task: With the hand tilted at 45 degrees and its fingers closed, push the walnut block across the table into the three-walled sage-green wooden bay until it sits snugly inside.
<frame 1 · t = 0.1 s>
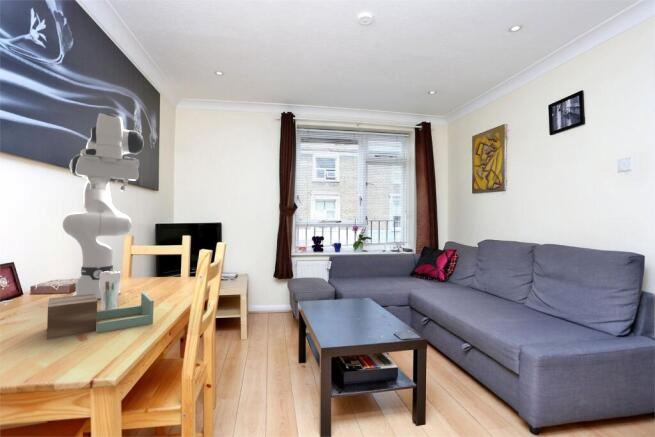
hand: (107, 189, 121), 48 cm above the table, tool pointing down, fingers open, 8 cm apart
green bay: (109, 323, 108), on the table
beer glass: (109, 310, 124), on the table
walnut block: (71, 330, 101), on the table
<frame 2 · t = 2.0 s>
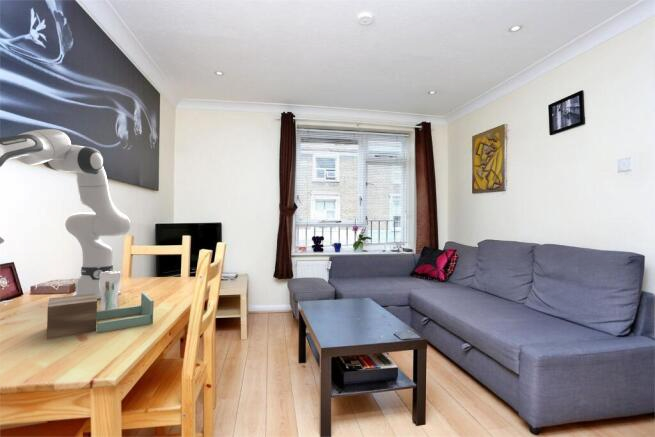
hand: (0, 243, 91), 29 cm above the table, tool tilted 40°, fingers open, 8 cm apart
nothing on the table moved.
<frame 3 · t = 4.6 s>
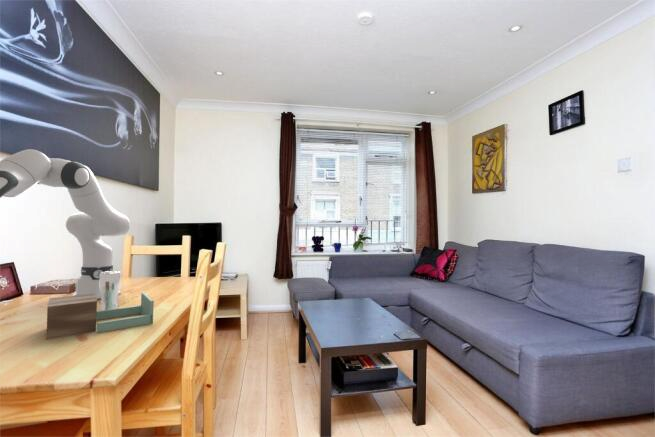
nothing on the table moved.
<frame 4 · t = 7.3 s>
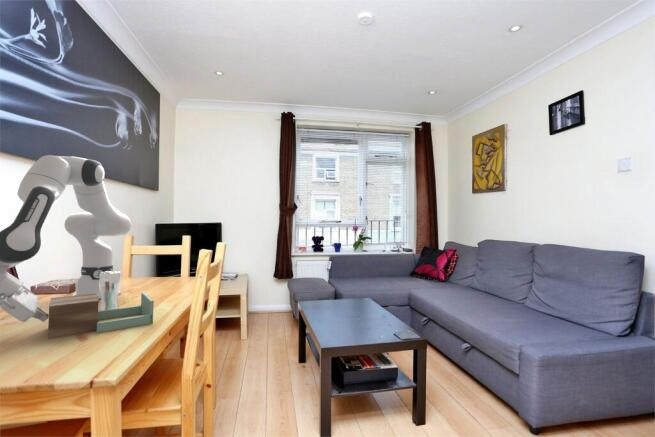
hand: (46, 318, 97), 5 cm above the table, tool tilted 45°, fingers closed
walnut block: (73, 329, 102), on the table, touching gripper
everything else where it was.
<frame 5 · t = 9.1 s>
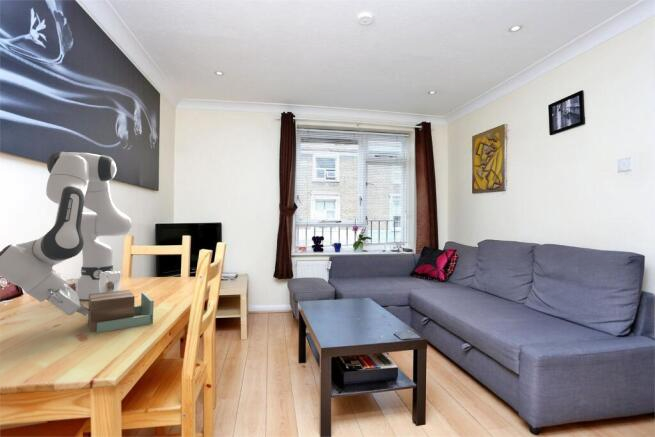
hand: (87, 313, 104), 5 cm above the table, tool tilted 45°, fingers closed, pressing on walnut block
walnut block: (110, 323, 108), on the table, touching gripper
everything else where it was.
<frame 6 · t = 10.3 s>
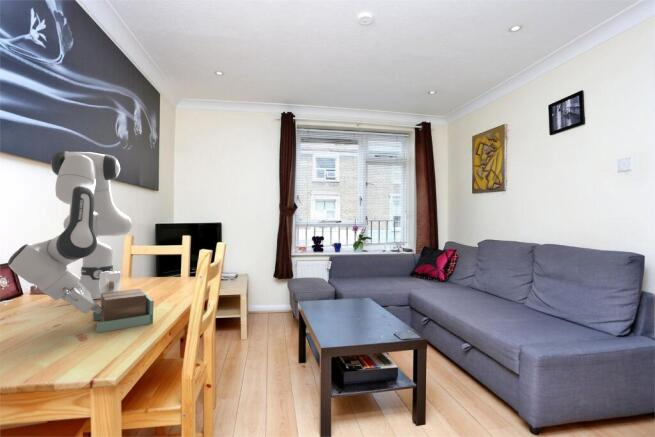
hand: (100, 311, 106), 5 cm above the table, tool tilted 45°, fingers closed
walnut block: (122, 322, 111), on the table
everything else where it was.
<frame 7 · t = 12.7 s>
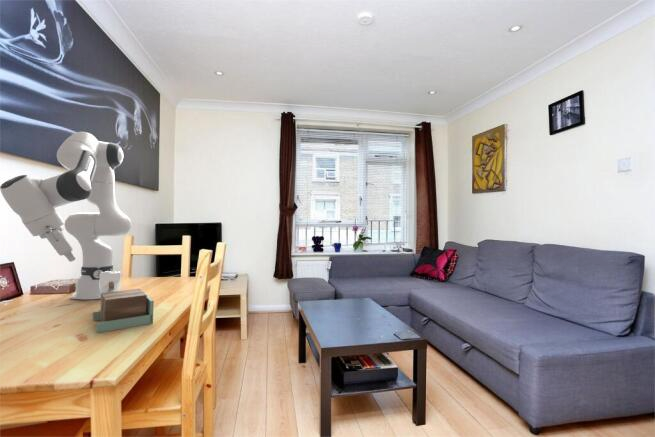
hand: (72, 260, 105), 22 cm above the table, tool tilted 30°, fingers closed
nothing on the table moved.
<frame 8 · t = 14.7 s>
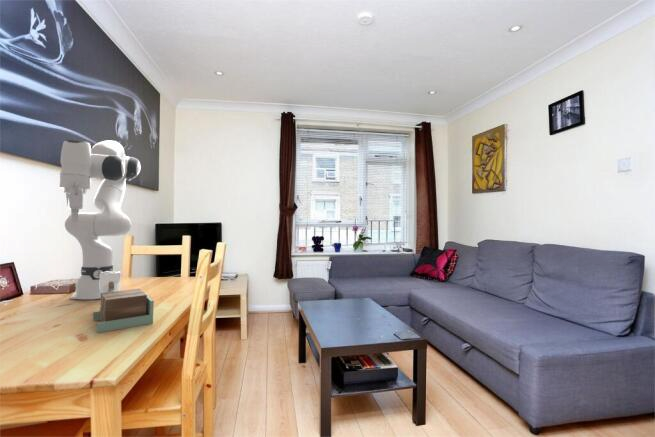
hand: (74, 222, 112), 35 cm above the table, tool pointing down, fingers closed
nothing on the table moved.
at the end: walnut block inside the target area (0.7 cm from its centre), on the table; walnut block tilted 0°; walnut block moved 14.1 cm from its start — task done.
